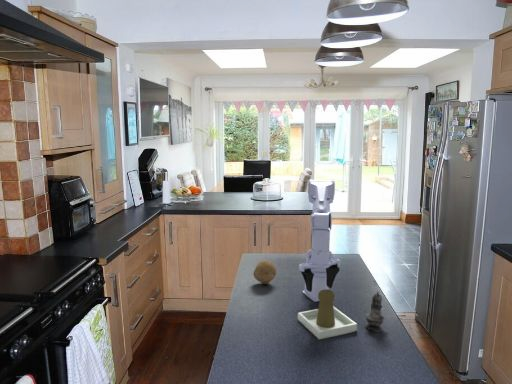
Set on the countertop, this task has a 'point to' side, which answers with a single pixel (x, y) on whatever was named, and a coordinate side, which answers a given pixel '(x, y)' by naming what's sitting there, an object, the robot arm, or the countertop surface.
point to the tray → (341, 327)
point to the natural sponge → (265, 272)
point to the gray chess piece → (375, 314)
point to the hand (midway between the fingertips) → (319, 288)
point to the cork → (326, 309)
